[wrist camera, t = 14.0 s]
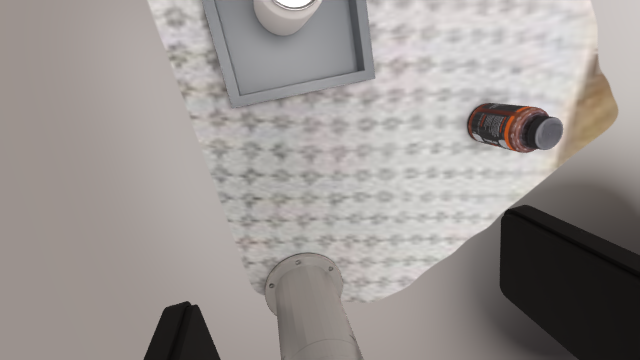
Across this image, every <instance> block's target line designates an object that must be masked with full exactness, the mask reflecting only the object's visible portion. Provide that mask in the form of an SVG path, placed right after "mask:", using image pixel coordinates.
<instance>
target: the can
mask: <svg viewBox="0 0 640 360" xmlns="http://www.w3.org/2000/svg"><path fill="white" fill-rule="evenodd" d="M321 2H322V0H253V3H254V10H255V14H256V16H257V18H258V20H259V22H260V23H261V25H262V26H263V27H264V28H265V29H266V30H268V31H269V32H271V33H273V34H276V35H280V36H287V35H291V34H293V33H295V32H297V31H298V30H299V29H300V28H301V27H302V26H303V25H304V24H305V23H306V22H307V21H308V19H309V18H310V17H311V16H312V15H313V13H314V12H315V11H316V10H317V8H318V7H319V5H320V4H321Z"/></svg>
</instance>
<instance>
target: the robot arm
mask: <svg viewBox="0 0 640 360" xmlns="http://www.w3.org/2000/svg"><path fill="white" fill-rule="evenodd" d="M500 288H501V291H502V293H503V294H504V295H505V296H506V298H508V299H509V300H510V301H511V302H512V303H513V304H515V305H516V306H517V307H518V308H519V309H520V310H522V311H523V312H524V313H525V314H526V315H528V316H529V317H530V318H531V319H532V320H533V321H534V322H536V323H537V324H538V325H539V326H540V327H541V328H543V329H544V330H545V331H546V332H547V333H548V334H550V335H551V336H552V337H553V338H554V339H555V340H557V341H558V342H559V343H560V344H561V345H562V346H563V347H565V348H566V349H567V350H568V351H569V352H570V353H572V354H573V355H574V356H575V357H576V358H578V359H579V360H640V255H638V254H636V253H633V252H631V251H629V250H627V249H625V248H622V247H620V246H618V245H616V244H613V243H611V242H609V241H607V240H605V239H602V238H600V237H598V236H596V235H593V234H591V233H589V232H587V231H584V230H582V229H580V228H578V227H576V226H574V225H571V224H569V223H567V222H565V221H562V220H560V219H558V218H556V217H554V216H551V215H549V214H547V213H545V212H542V211H540V210H538V209H536V208H533V207H531V206H528V205H522V206H519V207H515V208H512V209H508V210H507V211H506V212H505V213H504V216H503V217H502V219H501V248H500ZM342 289H343V280H342V277H341V274H340V272H339V270H338V268H337V266H336V265H335V264H334V263H333V262H332V261H331V260H329V259H328V258H326V257H324V256H321V255H318V254H310V253H308V254H299V255H295V256H292V257H290V258H287V259H286V260H284V261H283V262H281V263H280V264H279V265H277V266H276V267H275V268H274V270H273V271H272V272H271V273H270V275H269V277H268V279H267V282H266V286H265V297H266V302H267V305H268V307H269V308H270V310H271V311H272V312H273V313H274V314H275V315H276V316H277V319H278V328H279V340H280V350H281V360H364V359H363V357H362V354H361V352H360V349H359V346H358V344H357V341H356V339H355V336H354V334H353V331H352V328H351V326H350V323H349V321H348V318H347V316H346V313H345V311H344V308H343V305H342V303H341V300H340V296H341V294H342ZM144 360H220V357H219V355H218V352H217V350H216V347H215V345H214V343H213V340H212V338H211V335H210V333H209V330H208V328H207V326H206V323H205V321H204V318H203V316H202V313H201V311H200V309H199V307H198V305H191V304H190V302H188V301H186V302H183V303H179V304H176V305H172V306H169V307H166V308H165V309H164V311H163V313H162V315H161V318H160V320H159V323H158V325H157V328H156V330H155V333H154V335H153V337H152V340H151V343H150V345H149V347H148V350H147V353H146V355H145V357H144Z"/></svg>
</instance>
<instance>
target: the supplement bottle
mask: <svg viewBox="0 0 640 360" xmlns="http://www.w3.org/2000/svg"><path fill="white" fill-rule="evenodd" d="M468 128H469V133H470V135H471V136H472V138H473V139H475V140H477V141H479V142H482V143H486V144H490V145H494V146H498V147H502V148H505V149H509V150H513V151H517V152H523V153H527V152H531V151H534V150H536V149H541V150H548V149H551V148H552V147H554V146H555V145H556V144H557V143H558V142H559V140H560V139H561V137H562V134H563V125H562V123H561V121H560V120H559V119H558V118H555V117H549V116H548V114H547V113H546V112H545V111H544V110H542V109H540V108H536V107H529V106H517V105H506V104H494V103H492V104H491V103H489V104H483V105H481V106H479V107H478V108H477V109H476V110H475V111H474V112H473V113H472V115H471V117H470V120H469V124H468Z"/></svg>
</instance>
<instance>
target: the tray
mask: <svg viewBox="0 0 640 360" xmlns="http://www.w3.org/2000/svg"><path fill="white" fill-rule="evenodd" d="M202 3H203V6H204V10H205V13H206V17H207V21H208V24H209V28H210V31H211V35H212V38H213V42H214V45H215V49H216V52H217V56H218V59H219V63H220V67H221V70H222V74H223V77H224V81H225V84H226V88H227V91H228V95H229V98H230V102H231V105H232V108H237V107H241V106H246V105H251V104H256V103H261V102H265V101H270V100H275V99H280V98H284V97H289V96H294V95H299V94H303V93H308V92H313V91H318V90H323V89H327V88H332V87H337V86H342V85H346V84H351V83H356V82H361V81H365V80H370V79H375V71H374V63H373V55H372V46H371V38H370V29H369V21H368V12H367V4H366V0H322V2H321V4H320V5H319V7H318V8H317V10H316V11H315V12H314V13H313V15H312V16H311V17H310V18H309V19H308V21H307V22H306V23H305V24H304V25H303V26H302V27H301V28H300V29H299V30H298V31H297V32H295V33H293V34H291V35H287V36H280V35H276V34H273V33H271V32H269V31H268V30H266V29H265V28H264V27H263V26H262V25H261V23H260V22H259V20H258V18H257V16H256V14H255V10H254V3H253V0H202Z"/></svg>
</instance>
